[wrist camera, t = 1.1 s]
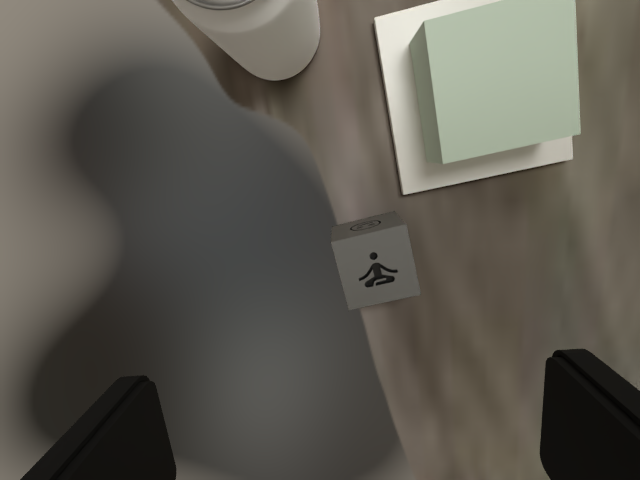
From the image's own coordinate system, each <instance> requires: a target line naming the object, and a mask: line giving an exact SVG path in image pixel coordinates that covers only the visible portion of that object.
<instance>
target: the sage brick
mask: <svg viewBox="0 0 640 480" xmlns="http://www.w3.org/2000/svg"><path fill="white" fill-rule="evenodd" d="M410 50H411V56H412V63H413V70H414V77H415V84H416V91H417V98H418V105H419V112H420V119H421V125H422V132H423V139H424V146H425V153H426V160H427V162H430V163H438V164H446V163H450V162H455V161H460V160H464V159H469V158H473V157H478V156H482V155H487V154H492V153H496V152H501V151H505V150H510V149H514V148H519V147H524V146H528V145H533V144H537V143H542V142H546V141H551V140H556V139H560V138H565V137H569V136H574V135H579V134H581V131H580V106H579V81H578V56H577V31H576V5H575V0H501V1H498V2H494V3H490V4H486V5H482V6H478V7H475V8H471V9H467V10H463V11H459V12H456V13H452V14H448V15H444V16H440V17H437V18H433V19H429V20H425V21H423V23H422V24H421V26H420V27H419V29H418V31H417V32H416V34H415V35H414V37H413V38H412V40H411V41H410Z"/></svg>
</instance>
